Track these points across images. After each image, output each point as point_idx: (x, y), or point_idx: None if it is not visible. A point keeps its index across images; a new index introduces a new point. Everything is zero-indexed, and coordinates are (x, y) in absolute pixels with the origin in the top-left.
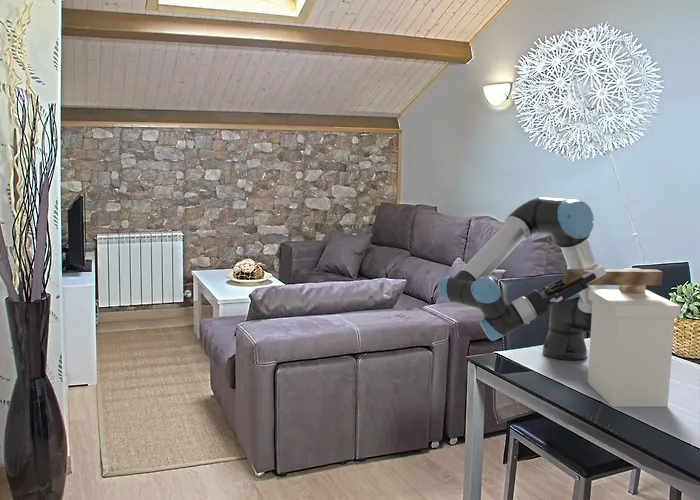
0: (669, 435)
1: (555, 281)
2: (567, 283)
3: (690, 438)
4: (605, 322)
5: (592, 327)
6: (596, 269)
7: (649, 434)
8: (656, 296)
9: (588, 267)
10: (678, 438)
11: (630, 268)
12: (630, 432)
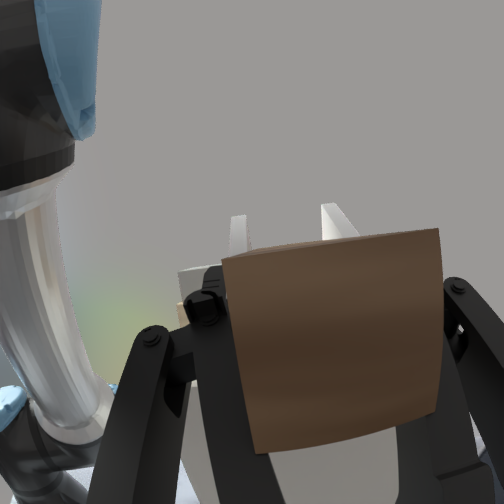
0: (480, 456)
1: (94, 476)
2: (430, 390)
3: (475, 440)
4: (322, 447)
5: (206, 488)
6: (347, 221)
7: (492, 473)
8: None
9: (246, 240)
10: (484, 448)
11: (187, 269)
12: (499, 491)
